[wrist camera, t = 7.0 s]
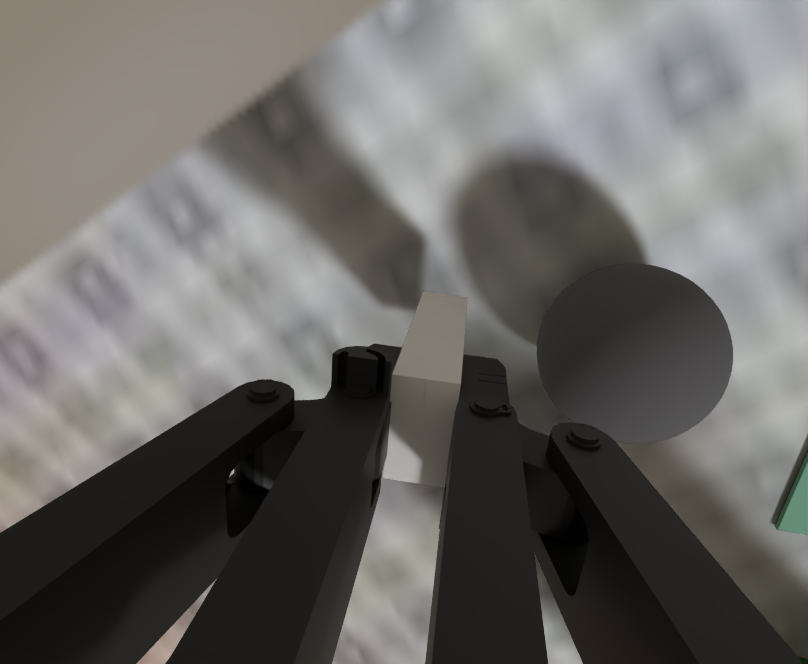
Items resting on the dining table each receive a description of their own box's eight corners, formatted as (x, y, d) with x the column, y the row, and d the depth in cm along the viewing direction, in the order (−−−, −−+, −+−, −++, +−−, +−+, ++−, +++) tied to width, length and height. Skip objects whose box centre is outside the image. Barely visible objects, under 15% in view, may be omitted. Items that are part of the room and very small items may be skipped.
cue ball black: (735, 496, 14) (688, 412, 19) (787, 291, 12) (721, 260, 17) (522, 458, 15) (532, 389, 20) (544, 270, 13) (549, 247, 19)
